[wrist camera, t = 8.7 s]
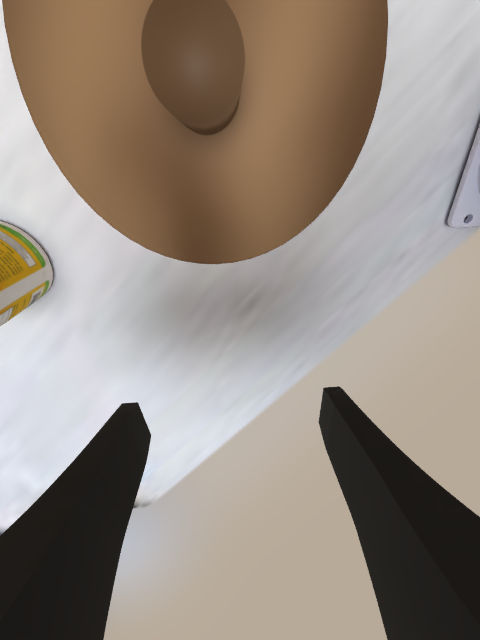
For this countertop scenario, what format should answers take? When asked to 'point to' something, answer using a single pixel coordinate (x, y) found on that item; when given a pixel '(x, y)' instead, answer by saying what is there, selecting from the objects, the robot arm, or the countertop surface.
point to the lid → (202, 111)
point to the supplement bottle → (21, 271)
